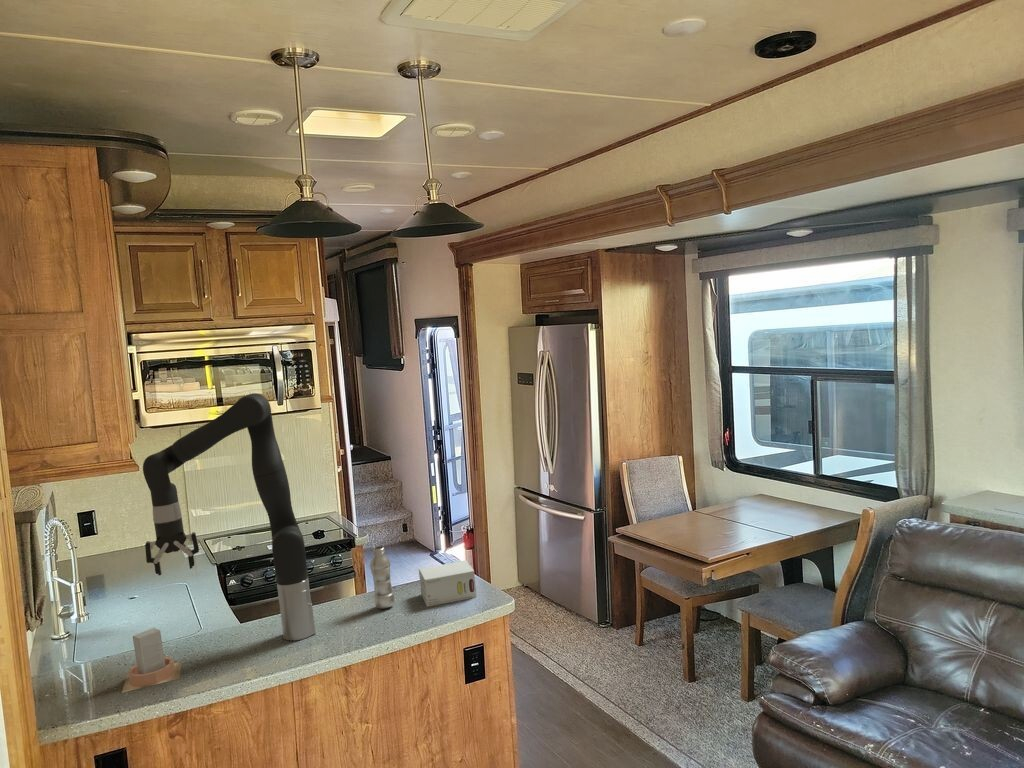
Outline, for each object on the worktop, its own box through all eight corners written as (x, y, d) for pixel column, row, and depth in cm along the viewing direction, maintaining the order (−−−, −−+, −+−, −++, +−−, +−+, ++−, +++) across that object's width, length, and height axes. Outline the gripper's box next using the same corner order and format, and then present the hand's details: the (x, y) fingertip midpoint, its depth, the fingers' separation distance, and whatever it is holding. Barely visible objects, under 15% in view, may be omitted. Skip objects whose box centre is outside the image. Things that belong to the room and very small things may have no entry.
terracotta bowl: (175, 663, 204) (174, 653, 204) (173, 679, 194) (171, 668, 194) (133, 673, 200) (131, 663, 200) (128, 690, 190) (126, 679, 190)
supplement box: (427, 607, 230) (423, 579, 229) (421, 594, 243) (417, 568, 242) (477, 597, 235) (474, 570, 234) (469, 585, 247) (466, 559, 247)
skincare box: (160, 668, 201) (154, 627, 200) (166, 671, 198) (161, 630, 197) (137, 677, 196) (131, 635, 196) (144, 680, 194) (138, 638, 193)
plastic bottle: (397, 608, 232) (390, 548, 231) (376, 612, 229) (369, 552, 228) (393, 601, 238) (386, 543, 237) (373, 606, 235) (366, 547, 234)
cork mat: (181, 662, 206) (181, 661, 206) (179, 679, 194) (179, 678, 194) (127, 675, 200) (127, 674, 200) (121, 694, 189) (121, 692, 189)
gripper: (193, 511, 218) (201, 562, 219) (142, 521, 212) (150, 573, 213) (193, 516, 211) (201, 569, 212) (140, 526, 205) (148, 580, 207)
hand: (175, 571), depth 213 cm, fingers open, 8 cm apart
